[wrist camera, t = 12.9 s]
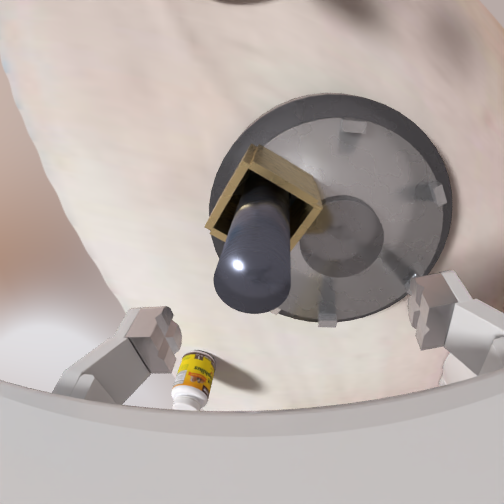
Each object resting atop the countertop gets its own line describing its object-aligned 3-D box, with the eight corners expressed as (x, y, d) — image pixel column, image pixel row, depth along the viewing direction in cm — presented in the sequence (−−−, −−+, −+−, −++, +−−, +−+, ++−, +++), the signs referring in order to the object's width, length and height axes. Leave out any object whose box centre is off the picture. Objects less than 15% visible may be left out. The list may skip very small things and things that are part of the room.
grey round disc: (472, 203, 28) (508, 236, 22) (351, 336, 39) (359, 382, 32) (299, 66, 24) (304, 61, 17) (188, 253, 34) (167, 295, 28)
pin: (297, 184, 28) (306, 275, 16) (274, 218, 30) (265, 323, 18) (258, 161, 27) (236, 237, 15) (236, 197, 29) (201, 292, 17)
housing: (474, 186, 31) (492, 200, 27) (348, 328, 44) (353, 351, 40) (294, 45, 26) (296, 39, 22) (180, 241, 39) (169, 261, 35)
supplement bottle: (223, 364, 50) (212, 416, 41) (198, 373, 52) (186, 422, 43) (200, 344, 48) (185, 397, 39) (176, 354, 50) (159, 404, 41)
